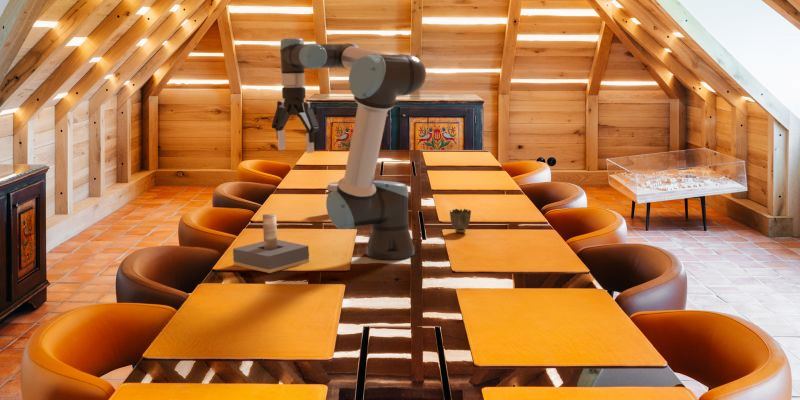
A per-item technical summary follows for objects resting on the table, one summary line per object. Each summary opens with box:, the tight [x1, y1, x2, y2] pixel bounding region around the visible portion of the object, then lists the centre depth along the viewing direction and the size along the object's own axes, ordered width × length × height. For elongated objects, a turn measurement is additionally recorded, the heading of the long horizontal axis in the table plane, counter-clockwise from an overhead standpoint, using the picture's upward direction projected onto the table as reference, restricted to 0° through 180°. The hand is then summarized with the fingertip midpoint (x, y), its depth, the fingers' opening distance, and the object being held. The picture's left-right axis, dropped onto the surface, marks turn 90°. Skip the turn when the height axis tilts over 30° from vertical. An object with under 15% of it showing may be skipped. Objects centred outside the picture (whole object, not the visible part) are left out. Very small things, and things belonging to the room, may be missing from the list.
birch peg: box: [262, 213, 278, 251], centre depth 249 cm, size 4×4×14 cm
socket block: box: [232, 239, 310, 274], centre depth 250 cm, size 16×16×5 cm
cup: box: [449, 208, 472, 235], centre depth 287 cm, size 8×7×8 cm
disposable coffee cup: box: [326, 181, 339, 194], centre depth 323 cm, size 10×10×12 cm
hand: (295, 151), depth 272 cm, fingers open, 13 cm apart
